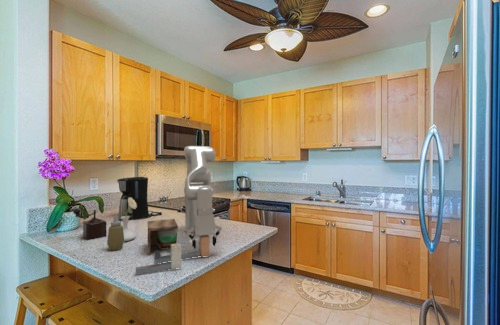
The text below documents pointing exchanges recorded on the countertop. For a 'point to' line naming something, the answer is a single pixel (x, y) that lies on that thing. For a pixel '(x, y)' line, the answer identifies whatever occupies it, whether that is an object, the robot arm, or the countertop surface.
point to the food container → (167, 237)
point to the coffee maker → (134, 197)
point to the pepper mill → (92, 226)
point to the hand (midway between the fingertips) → (204, 246)
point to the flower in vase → (127, 233)
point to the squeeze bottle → (115, 235)
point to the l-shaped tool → (164, 266)
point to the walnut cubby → (158, 226)
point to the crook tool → (203, 251)
